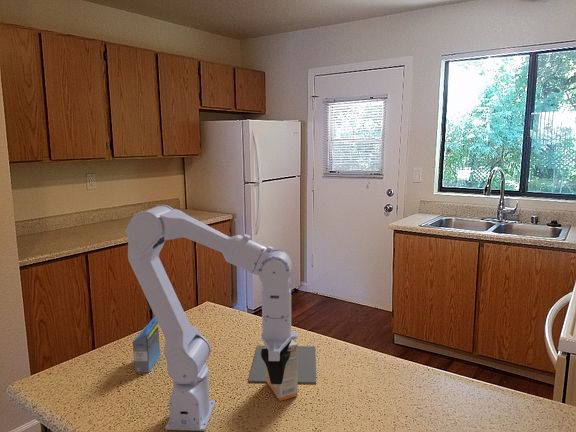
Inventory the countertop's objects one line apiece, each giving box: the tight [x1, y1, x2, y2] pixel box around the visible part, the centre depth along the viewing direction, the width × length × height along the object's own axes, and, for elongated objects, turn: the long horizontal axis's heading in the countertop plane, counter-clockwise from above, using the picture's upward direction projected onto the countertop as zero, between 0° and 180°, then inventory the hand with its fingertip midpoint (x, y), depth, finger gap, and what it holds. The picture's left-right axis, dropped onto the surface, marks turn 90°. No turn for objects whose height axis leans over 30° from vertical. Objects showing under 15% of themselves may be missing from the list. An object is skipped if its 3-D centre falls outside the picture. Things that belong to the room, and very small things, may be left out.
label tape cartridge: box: [132, 315, 161, 374], centre depth 110 cm, size 9×4×12 cm, turn 179°
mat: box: [248, 344, 317, 385], centre depth 110 cm, size 18×16×1 cm
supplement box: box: [264, 339, 299, 402], centre depth 97 cm, size 8×5×13 cm, turn 25°
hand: (277, 376), depth 87 cm, fingers open, 4 cm apart
